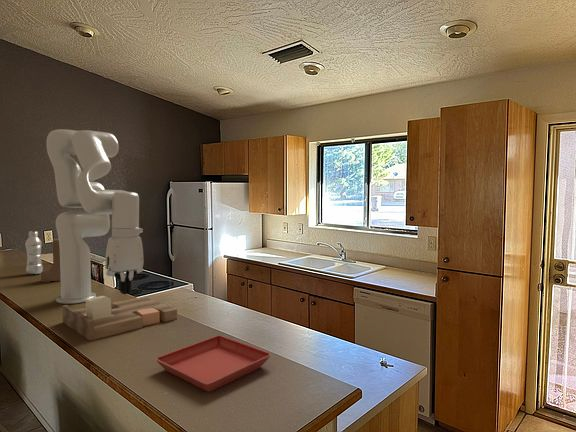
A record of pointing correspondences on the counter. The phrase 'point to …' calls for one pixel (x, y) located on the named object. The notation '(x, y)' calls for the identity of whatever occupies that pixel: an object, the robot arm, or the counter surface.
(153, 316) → the salmon block
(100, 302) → the cream cube
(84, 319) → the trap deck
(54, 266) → the wooden block
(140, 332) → the counter surface
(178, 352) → the plant saucer
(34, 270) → the plastic bottle
